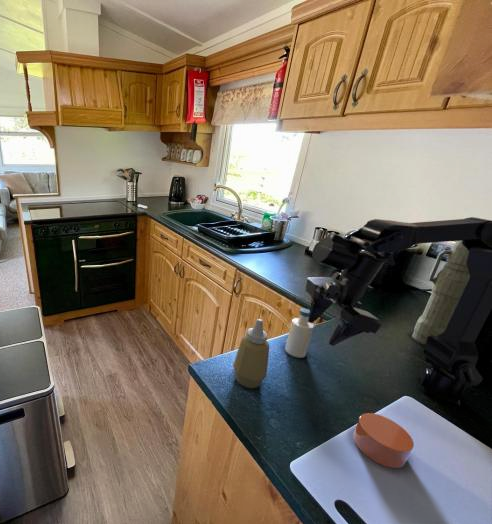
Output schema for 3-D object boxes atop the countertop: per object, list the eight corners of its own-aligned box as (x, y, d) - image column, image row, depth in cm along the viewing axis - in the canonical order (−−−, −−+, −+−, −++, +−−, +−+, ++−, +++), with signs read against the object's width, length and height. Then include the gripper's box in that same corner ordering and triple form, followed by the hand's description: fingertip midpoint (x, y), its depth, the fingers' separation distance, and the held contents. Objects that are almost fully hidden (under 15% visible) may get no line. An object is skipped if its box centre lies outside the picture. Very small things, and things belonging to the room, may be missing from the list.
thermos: (458, 355, 88) (513, 245, 76) (408, 341, 94) (451, 237, 82) (450, 341, 95) (500, 239, 83) (404, 329, 101) (444, 232, 89)
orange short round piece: (405, 446, 59) (413, 429, 57) (405, 477, 52) (414, 460, 51) (355, 421, 64) (361, 406, 62) (350, 448, 58) (357, 431, 56)
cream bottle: (307, 351, 87) (319, 310, 82) (303, 360, 83) (315, 318, 78) (288, 343, 90) (298, 304, 86) (282, 351, 86) (292, 310, 81)
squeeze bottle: (238, 365, 80) (249, 307, 74) (268, 379, 75) (282, 319, 69) (226, 381, 74) (236, 320, 68) (257, 397, 69) (272, 333, 63)
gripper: (302, 251, 72) (273, 304, 77) (350, 281, 54) (308, 347, 59) (343, 265, 72) (311, 316, 78) (403, 299, 55) (357, 362, 60)
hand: (319, 332), depth 69 cm, fingers open, 9 cm apart
